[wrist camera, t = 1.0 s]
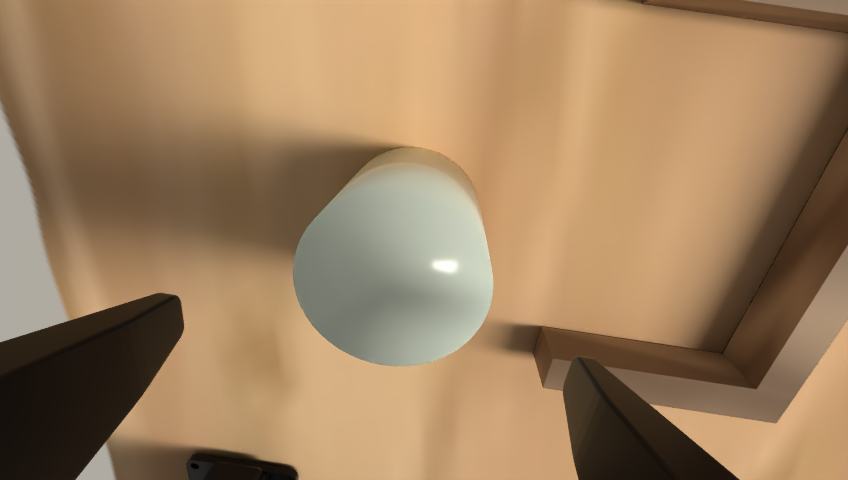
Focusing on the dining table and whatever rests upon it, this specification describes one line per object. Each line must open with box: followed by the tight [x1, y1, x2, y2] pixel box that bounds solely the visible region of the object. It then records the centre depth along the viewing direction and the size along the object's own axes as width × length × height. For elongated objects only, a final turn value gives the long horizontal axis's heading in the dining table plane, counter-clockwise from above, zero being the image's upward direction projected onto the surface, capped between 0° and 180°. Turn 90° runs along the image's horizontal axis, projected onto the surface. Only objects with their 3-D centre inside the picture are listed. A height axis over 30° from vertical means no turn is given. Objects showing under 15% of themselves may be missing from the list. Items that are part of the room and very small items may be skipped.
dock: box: [533, 0, 848, 423], centre depth 14 cm, size 16×10×2 cm, turn 173°
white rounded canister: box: [293, 147, 493, 366], centre depth 14 cm, size 6×6×6 cm
